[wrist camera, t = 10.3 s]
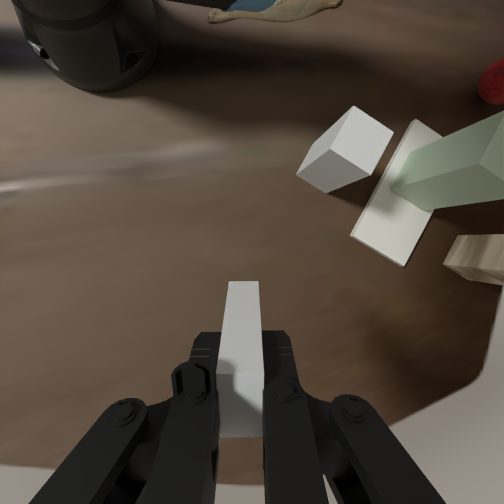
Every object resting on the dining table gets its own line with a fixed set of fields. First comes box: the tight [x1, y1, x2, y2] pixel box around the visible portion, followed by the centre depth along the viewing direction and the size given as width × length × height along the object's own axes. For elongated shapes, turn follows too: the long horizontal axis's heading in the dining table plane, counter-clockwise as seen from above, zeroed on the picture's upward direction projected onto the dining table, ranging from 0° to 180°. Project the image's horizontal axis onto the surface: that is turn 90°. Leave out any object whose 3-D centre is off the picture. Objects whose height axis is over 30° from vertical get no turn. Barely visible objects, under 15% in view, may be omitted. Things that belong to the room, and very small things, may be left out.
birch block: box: [443, 234, 504, 285], centre depth 40 cm, size 5×5×12 cm
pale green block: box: [391, 111, 504, 210], centre depth 36 cm, size 6×6×14 cm
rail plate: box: [350, 119, 443, 266], centre depth 43 cm, size 19×9×1 cm, turn 151°
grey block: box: [296, 106, 394, 193], centre depth 36 cm, size 5×5×12 cm
